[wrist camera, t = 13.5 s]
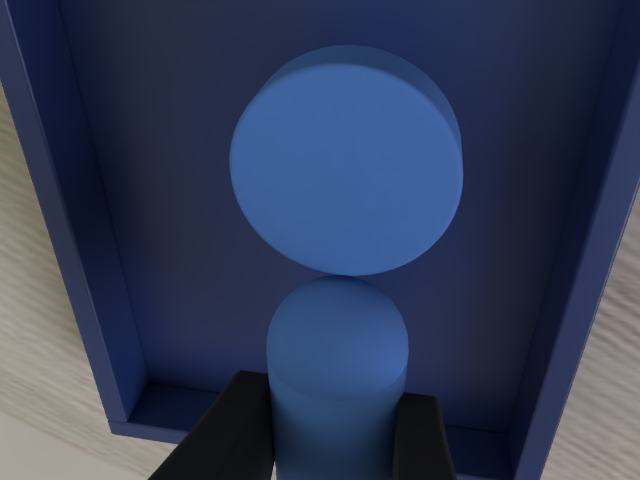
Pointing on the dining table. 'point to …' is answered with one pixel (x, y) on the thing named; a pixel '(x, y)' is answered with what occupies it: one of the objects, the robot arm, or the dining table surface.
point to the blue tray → (285, 274)
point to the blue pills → (343, 242)
